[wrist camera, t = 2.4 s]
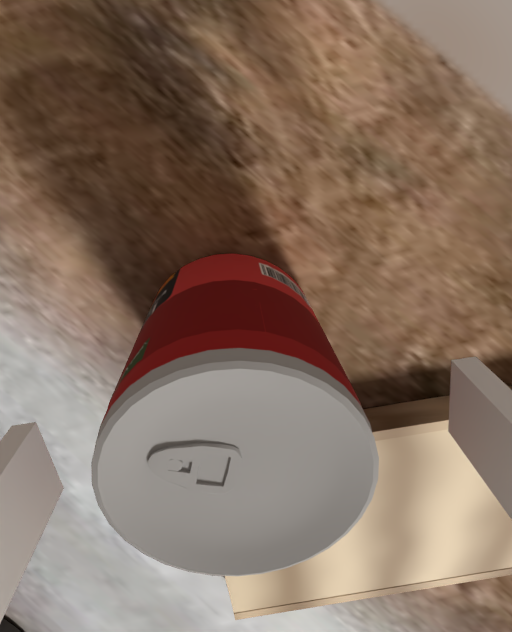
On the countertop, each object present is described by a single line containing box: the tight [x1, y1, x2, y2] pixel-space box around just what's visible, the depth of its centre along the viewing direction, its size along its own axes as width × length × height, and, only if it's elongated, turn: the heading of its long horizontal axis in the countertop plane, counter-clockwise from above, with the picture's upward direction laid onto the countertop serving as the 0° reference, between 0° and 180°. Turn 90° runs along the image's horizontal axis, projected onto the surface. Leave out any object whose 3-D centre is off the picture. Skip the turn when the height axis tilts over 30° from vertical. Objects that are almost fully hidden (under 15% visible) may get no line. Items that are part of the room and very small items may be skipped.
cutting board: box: [225, 385, 512, 620], centre depth 26 cm, size 20×13×2 cm, turn 98°
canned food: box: [92, 254, 379, 576], centre depth 17 cm, size 8×8×11 cm
